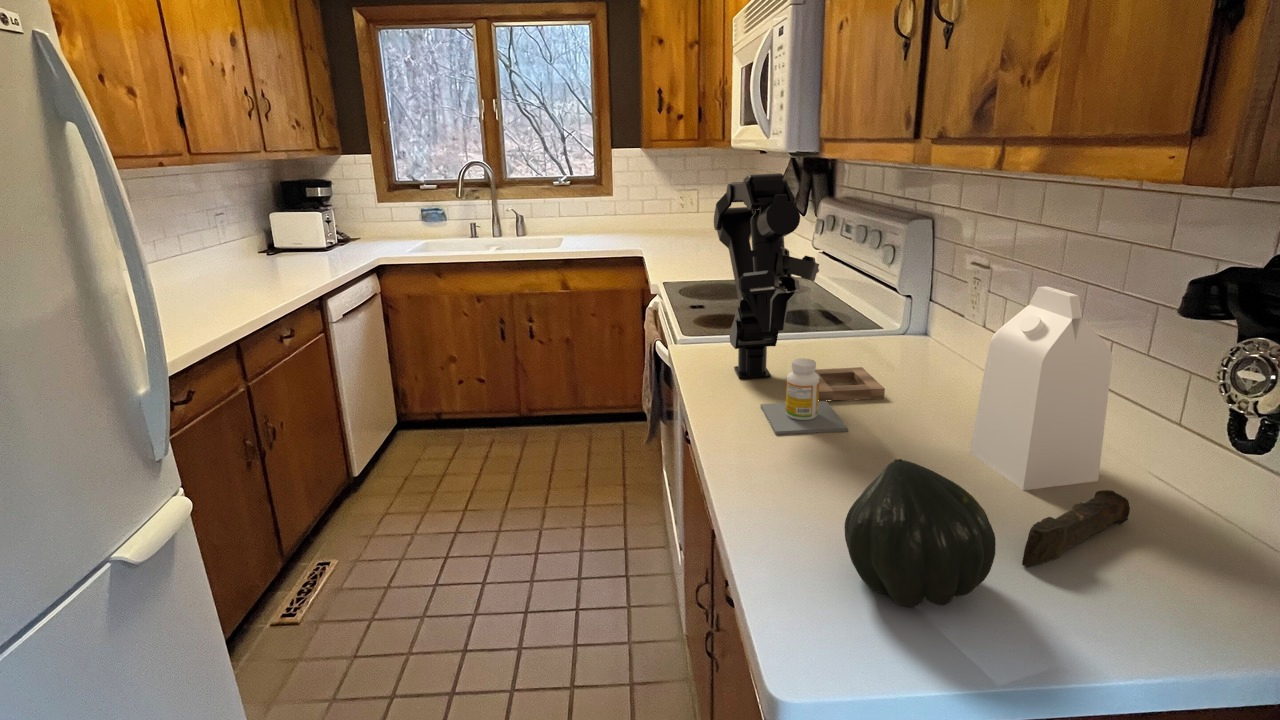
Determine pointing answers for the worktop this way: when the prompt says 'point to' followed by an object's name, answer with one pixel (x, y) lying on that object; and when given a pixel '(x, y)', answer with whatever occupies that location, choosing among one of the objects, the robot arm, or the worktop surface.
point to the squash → (919, 536)
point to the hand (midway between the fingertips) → (773, 331)
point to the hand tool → (1074, 526)
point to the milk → (1044, 396)
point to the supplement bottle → (802, 390)
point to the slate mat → (786, 425)
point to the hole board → (862, 389)
